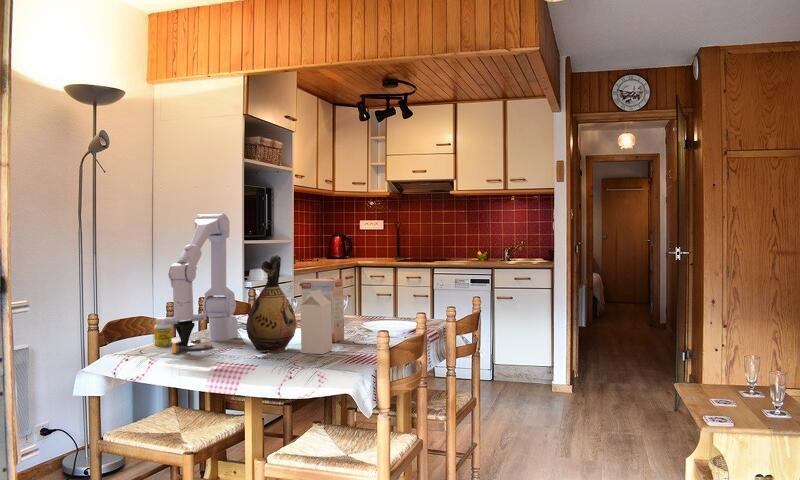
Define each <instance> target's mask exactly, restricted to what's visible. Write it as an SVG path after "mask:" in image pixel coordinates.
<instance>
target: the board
mask: <svg viewBox="0 0 800 480" xmlns="http://www.w3.org/2000/svg"><path fill="white" fill-rule="evenodd" d="M240 346H241V344H235V343H223V342H216V341H214V342H213V341H212V348H209V349H204V350H194V351H182V352H178V353H172V345H171V346H166V347H161V348H157V349H153V350H150V352H153V353H159V354H160V353H161V354H168V355H169V354H170V355H172V354H173V355H178V356H179V355H181V356H188V357H199V356H202V355H206V354H211V353H215V352H218V351H223V350H227V349H230V348H231V349H232V348H235V347H240Z"/></svg>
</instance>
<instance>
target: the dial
mask: <svg viewBox="0 0 800 480" xmlns="http://www.w3.org/2000/svg"><path fill="white" fill-rule="evenodd" d="M212 342H213V341H211V340H209V339H207V340H206V339H202V340H201V339H200V338H198V339H196V338H195V339H190V340H189V341H188V346H187V347H184V346H182V343H181V340H179V341H173V342H172V344H171V346H172V353H178V352H182V351H194V350H204V349H209V348H212Z"/></svg>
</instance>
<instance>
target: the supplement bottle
mask: <svg viewBox="0 0 800 480" xmlns="http://www.w3.org/2000/svg"><path fill="white" fill-rule="evenodd" d="M165 318H168V317H156V318H155V325H154V327H153V334H154V335H153V336H154V337H153V338H154V346H159V347H160V346H169V345H172V343H173V342H172V326H171V325H167V326H161V325H160V319H165Z"/></svg>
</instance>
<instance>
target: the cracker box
mask: <svg viewBox="0 0 800 480" xmlns="http://www.w3.org/2000/svg"><path fill="white" fill-rule="evenodd" d="M318 290H321V294H322V295H323V296H324V297H325V298H326V299H328V300H329V301H330V302H331V325H332V343H337V342H342V341H344V340H345V316H344V315H345V314H344V310H345V309H344V307H345V306H344V280H343V279H340V278H339V279H336V278H335V279H334V278H333V279H332V278H305V279H301V304H302V303H303V302H304V301H305V300H306V297H307V296H308V295H310V292H313V291H318Z"/></svg>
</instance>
